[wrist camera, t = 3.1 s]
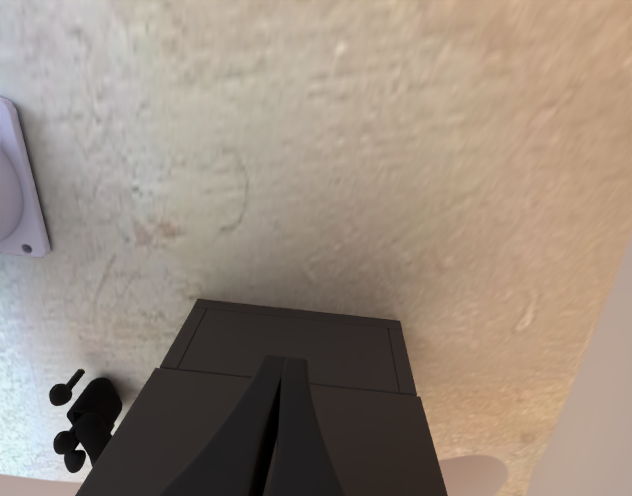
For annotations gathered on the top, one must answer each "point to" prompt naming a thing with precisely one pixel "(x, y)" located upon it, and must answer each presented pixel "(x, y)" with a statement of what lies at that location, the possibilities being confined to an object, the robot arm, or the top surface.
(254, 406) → the robot arm
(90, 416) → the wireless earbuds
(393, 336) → the case
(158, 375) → the case lid
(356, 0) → the top surface
